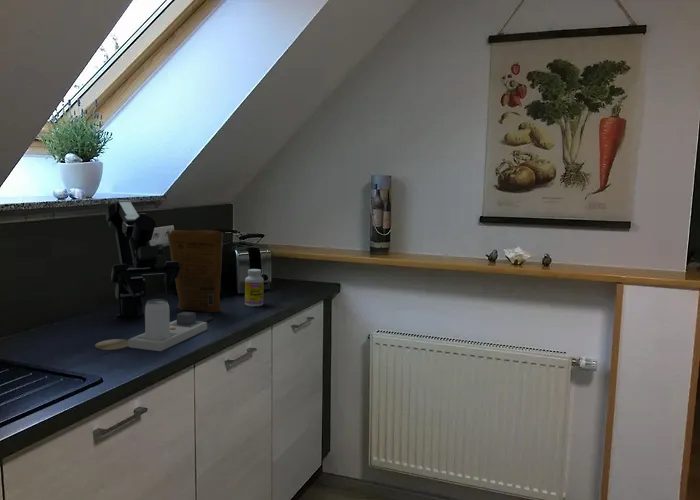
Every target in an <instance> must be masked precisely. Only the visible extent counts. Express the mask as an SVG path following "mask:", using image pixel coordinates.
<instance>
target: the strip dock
mask: <svg viewBox="0 0 700 500" xmlns="http://www.w3.org/2000/svg"><path fill="white" fill-rule="evenodd" d="M207 330H208V322H203V320H196V322H195V323H192V324H190V325H183V324H177V319H175V320H173V321H170V337H169V338H167V339H165V340H163V341H158V340H150V339H145V332H142V333H141V334H138V335H135V336H133V337H130V338H129V339H127V340H128V341H129V346H128V348H131V349H138V350H139V349H140V350H148V351H156V352H163V351H164V350H167V349H169V348H170V347H173V346H175V345H177V344H179V343H181V342H183V341H186V340H188V339H190V338H192V337H195V336H196V335H198V334H201V333H203V332H204V331H207Z"/></svg>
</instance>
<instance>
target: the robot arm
mask: <svg viewBox="0 0 700 500" xmlns="http://www.w3.org/2000/svg"><path fill="white" fill-rule="evenodd" d="M105 220H106V222H107V223H108V227H109V229H110V230H111V231H112V232H113V233H114V235H115V240H116V244H117V252H118V258H119V259H118V260H119V263H115V264H113V265H112V267H111V273H110V280H111V282H112V283H113V284H115V287H114V288H115V289H114V297H115V298H116V300H118V307H119V309H118V312H119V313H118V314H116V315H115V316H116V317H117V318H118V317H119V318H127V319H134V318H137V317H140V316H143V315H145V311H143V302H142V298H145V297H146V290H147V286H148V284H147V282H146V279H145V278H144V277H143V276H148V275H162V277H163V285H164V291H165V294H166V296H168V295H169V294H170V293H169V292H170V286H171V282H173V281H174V280H175V278H177V277H178V274H179V270H180V264H179V262H178V261H172V260H169V261H168V260H167V261H166V260H165V261H164V264H163V266H156V265H157V264H158V258H159V257H163V255H164V253H165V249H164V248H165V247H164V245H163V244H162V243H161V244H159V243H158V244H156V245H151V242H150V241H152V238H153V235H154V231H155V228H156V220H154V219H153V218H152V217H150V216H149V215H147V213H146V212H145V213H144V212H143V213H138V212H137V211H136V209H135V207H134V205H133V201H132V200H130V199H118V200H115V201H114V203H113V204H111V205H109V206H107V209H106V211H105Z"/></svg>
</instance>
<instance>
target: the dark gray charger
mask: <svg viewBox="0 0 700 500" xmlns="http://www.w3.org/2000/svg"><path fill="white" fill-rule="evenodd" d="M196 316H197V315H196V312H193V311H182V312H180V313H177V314H176V320H177V324H183V325H190V324H192V323H195V322H196V321H197V318H196Z"/></svg>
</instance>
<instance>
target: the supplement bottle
mask: <svg viewBox="0 0 700 500" xmlns="http://www.w3.org/2000/svg"><path fill="white" fill-rule="evenodd" d="M247 275H248V276H247V277H245V279H244V282H245V283H244V305H245V306H246V307H250V308H251V307H256V308H257V307H261V306H263V304H264V289H265V288H264V287H265V285H264V283H265V282H264V280H265V279H264V277H263V276H261V275H262V269H260V268H259V269H258V268H250V269H248V270H247Z"/></svg>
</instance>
